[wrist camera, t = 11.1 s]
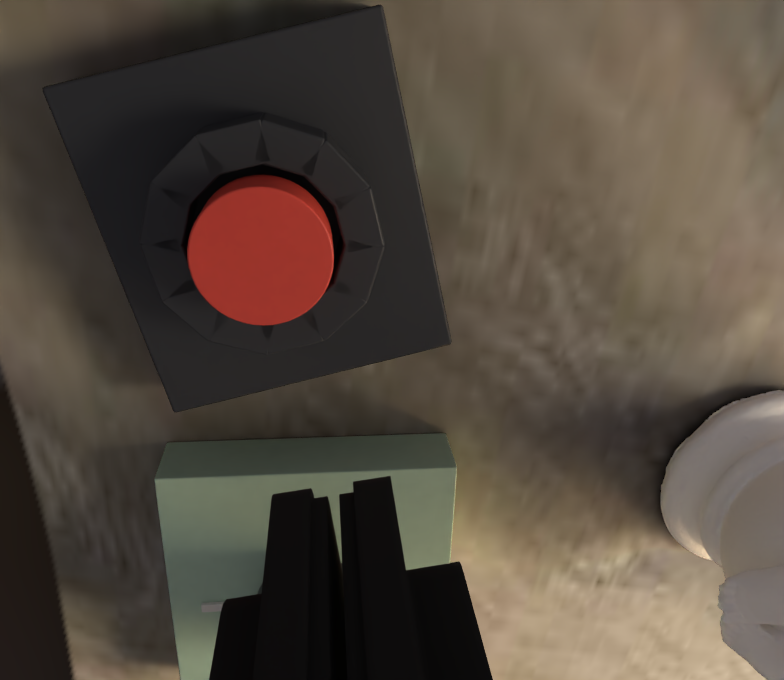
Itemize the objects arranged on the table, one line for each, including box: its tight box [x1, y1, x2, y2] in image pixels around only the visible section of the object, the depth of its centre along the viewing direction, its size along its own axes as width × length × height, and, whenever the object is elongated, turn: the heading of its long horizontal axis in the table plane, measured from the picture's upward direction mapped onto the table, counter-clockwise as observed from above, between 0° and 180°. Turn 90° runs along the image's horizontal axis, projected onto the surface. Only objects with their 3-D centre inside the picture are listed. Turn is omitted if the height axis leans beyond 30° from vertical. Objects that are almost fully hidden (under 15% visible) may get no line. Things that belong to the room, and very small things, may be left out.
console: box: [154, 433, 457, 680], centre depth 29 cm, size 12×11×3 cm
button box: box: [43, 5, 452, 412], centre depth 23 cm, size 11×10×4 cm
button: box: [187, 175, 334, 325], centre depth 20 cm, size 4×4×2 cm
